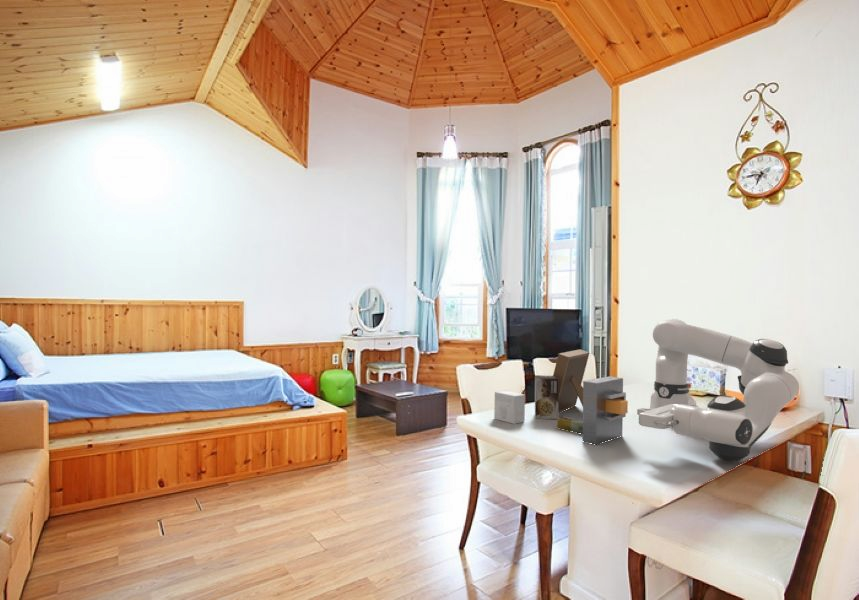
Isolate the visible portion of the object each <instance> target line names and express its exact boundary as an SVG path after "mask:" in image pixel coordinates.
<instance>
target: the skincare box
mask: <svg viewBox="0 0 859 600" xmlns="http://www.w3.org/2000/svg"><path fill="white" fill-rule="evenodd" d="M525 405H526V394H523V393H518V392H513V391H509V390H508V391H507V390H502V391H501V390H500V391H494V410H493V411H494V413H493V415H494V416H493V419H494V418H495V419H494V420H497V421H498V420H499V421H502V422H505V423H509V424H513V425H515V424H520V423H524V422H526V421H525V416H526V415H525V414H526V413H525V411H526V409H525V408H526V407H525Z"/></svg>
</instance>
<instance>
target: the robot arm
mask: <svg viewBox="0 0 859 600" xmlns="http://www.w3.org/2000/svg"><path fill="white" fill-rule="evenodd" d="M652 339H653V341H654V342H655V344H657V345H658V346H657V348H658V349H657V355H656V360H655V380H654V384H653V387H654V388H653V389H654V392H653V393H651V395H650V401H649V402H650V404H649V408H645V407H642V408H641V407H640V408H638V409H637V410H636V414H637V415H638V424H639V426H642V427H645V428H652V429H656V430H657V429H659V430H667V429H669V428H671V429H673V431H674V432H675V433H676V434H677V435H680V436H685V437H689V438H694V439H704V440H707V441H709V442H708V448H709V450H710V451H711V452H712V453H713V454H714V455H715V456H716V457H717V458H719V459H721V460H722V461H725V462H739V461H741V460H744V459H745V458H747V457H748V456H749V455H750V453H751V451H750V450H751V448H752V446H753V445H755V443H757V441H758V440H760V438H761V437H762V436H764V434H765V433H766V432H767V431H768V430H769V428H770V426H771V425H772V423H773V421H774V420H775V418H776V417H777V415H778V414H779V413H780V411H781V410H783V408H785V406H787V405H788V404H790V403H791V402H792V401H793V400H794V399H795V398H796V396H797V395H798V393H799V391H800V384H799V381H798V378H796V377H795V376H794V375H793V373H792V374H791V373H790V372H787V371H786V370H785V369H786V368H785V367H786V365H788V364H789V360H788V351H787V349H786V347H785V346H784V344H782V343H781V342H779V341H776V340H773V339H769V338H759V339H756V340H754V341H753V342H750V341H748V340H746V339H743V338H739V337H737V336H733V335H730V334H726V333H723V332H720V331H715V330H712V329H708V328H704V327H698V326H695V325H691V324H687V323H686V322H685V321H684V320H682V319H678V318H671V319H667V320H662V321H660V322H658V323H657V324H656V325H655V327H654V328H653V330H652ZM689 356H695V357H698V358H701V359H705V360H708V361H711V362H715V363H719V364H722V365H724V366H727V367H732V368H736V369H737V370H739V371H740V373H741V375H738V376H737V380H738V389H739V391H740V392H741V393H742V395H743V401H742V400H741V399H739V398H737V397H736V396H729V395H716V396H714V397H713V398H712V399H711V400H709V402H708V403H707V405H706V406H707V407H706V408H701V407H700V406H698V405H697V401H696V400H695V399H694V397H692V395H691V394H690V390H689V389H691V388H692V383H691V382H688V358H689Z"/></svg>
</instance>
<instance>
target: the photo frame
mask: <svg viewBox="0 0 859 600" xmlns="http://www.w3.org/2000/svg"><path fill="white" fill-rule="evenodd" d="M589 357H590V351H587V350H584V349H576V350H570V351H565V352H560V353H558V355H557V359H556V363H555V367H554V370H553V375H552V376H558V378H559V414H561V413H563V412H565V411H567V410H566V409H568V408H570V409H572V408H574V407H573V406H575V405H576V406H577V402H578V399H579V401H580V404H581V406H582V407H583V385H582V383H583V381H584V380H583V379H584V377H585V371H586V368H587V364H588V360H589ZM576 406H575V407H576ZM571 407H572V408H571ZM564 410H565V411H564ZM568 410H569V409H568ZM562 411H563V412H562ZM560 412H561V413H560Z"/></svg>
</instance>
